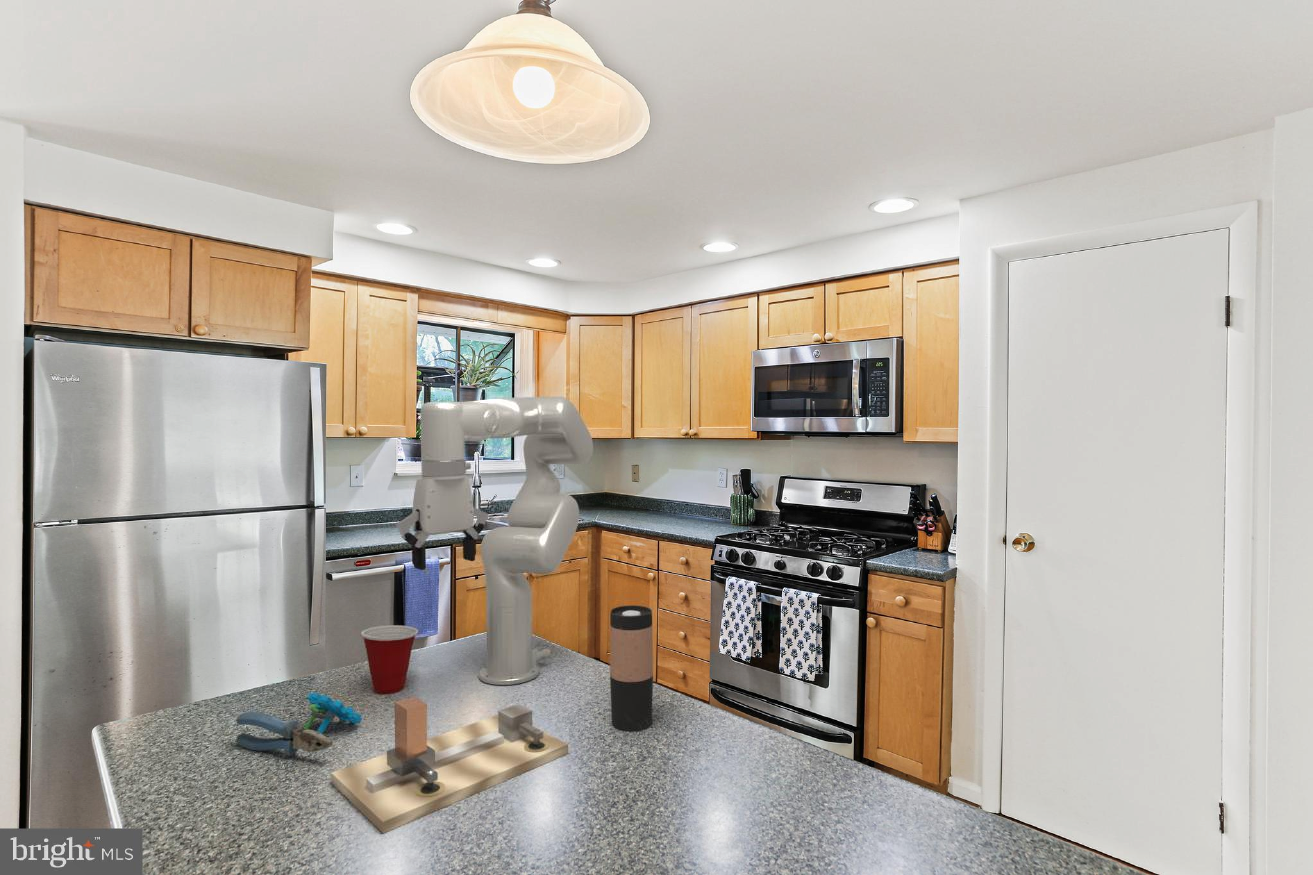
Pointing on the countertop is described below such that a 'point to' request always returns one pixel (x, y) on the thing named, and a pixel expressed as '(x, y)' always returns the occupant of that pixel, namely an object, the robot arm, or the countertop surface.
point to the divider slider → (412, 741)
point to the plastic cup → (389, 656)
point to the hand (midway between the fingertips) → (445, 564)
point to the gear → (329, 711)
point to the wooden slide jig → (450, 768)
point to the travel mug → (631, 667)
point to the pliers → (290, 732)
